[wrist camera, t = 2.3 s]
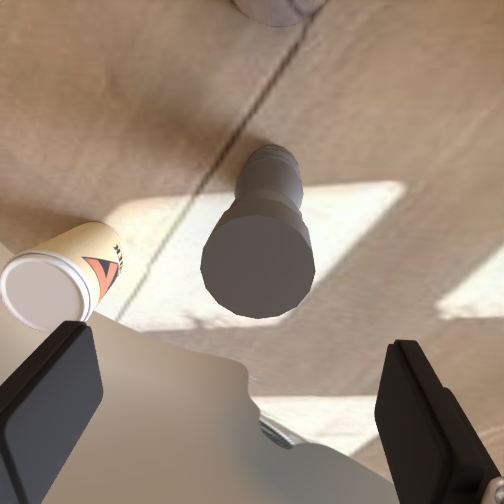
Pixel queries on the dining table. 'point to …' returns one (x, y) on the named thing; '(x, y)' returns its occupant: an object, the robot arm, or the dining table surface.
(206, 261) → the candle holder
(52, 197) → the dining table surface
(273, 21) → the dark grey mug
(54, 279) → the coffee cup
